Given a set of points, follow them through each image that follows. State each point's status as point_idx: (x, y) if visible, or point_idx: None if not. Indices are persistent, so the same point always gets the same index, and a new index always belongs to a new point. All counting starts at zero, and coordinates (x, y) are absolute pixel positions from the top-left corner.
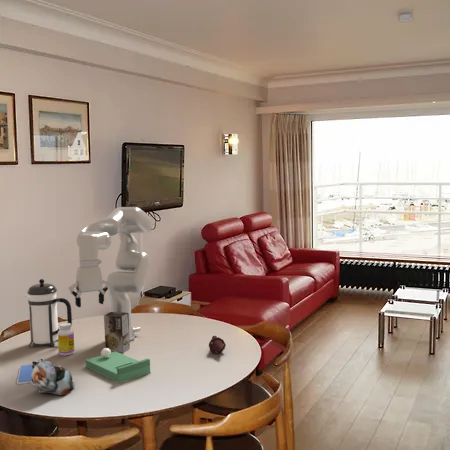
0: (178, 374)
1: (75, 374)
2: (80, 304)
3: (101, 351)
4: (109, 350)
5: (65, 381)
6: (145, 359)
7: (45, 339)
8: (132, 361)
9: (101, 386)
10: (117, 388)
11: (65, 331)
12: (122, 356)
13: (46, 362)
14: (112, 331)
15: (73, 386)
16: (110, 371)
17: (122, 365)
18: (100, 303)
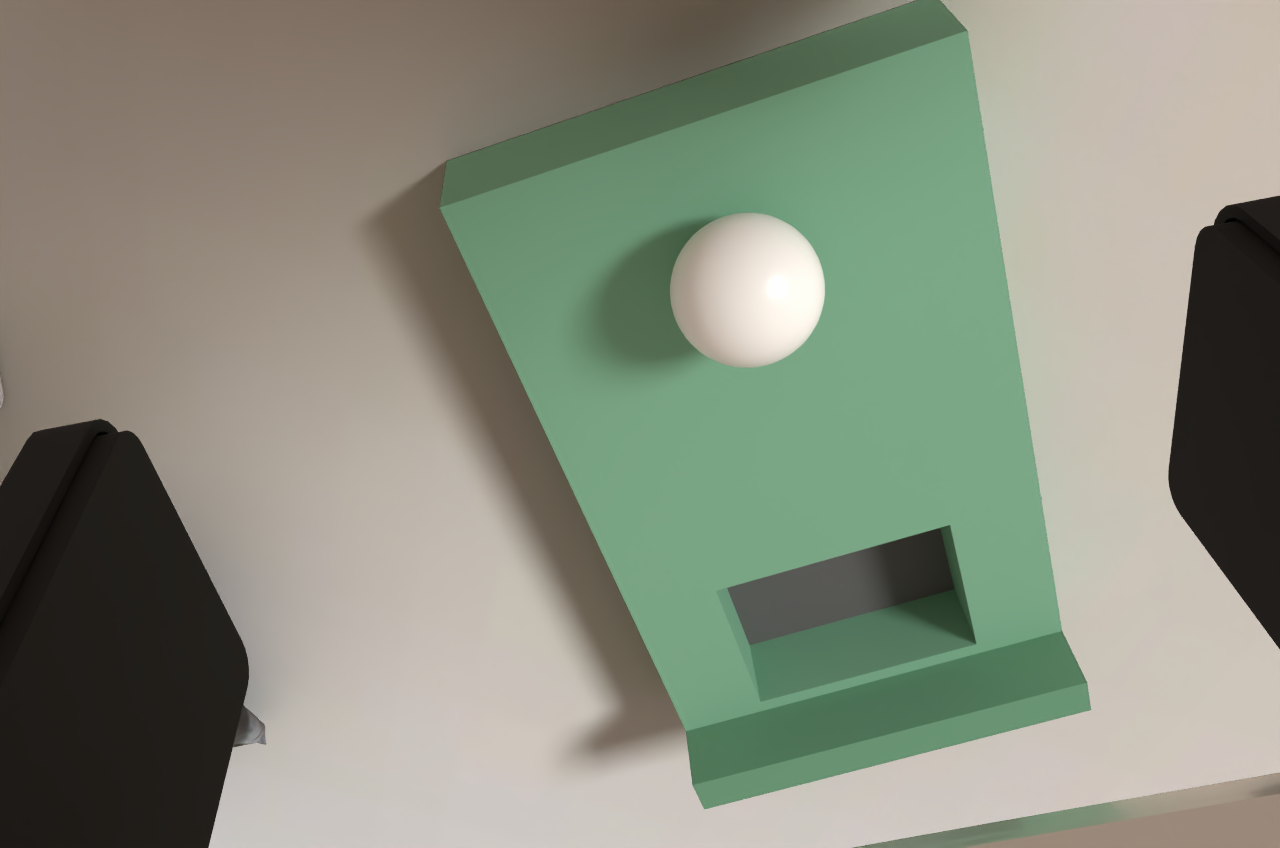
0: (1217, 704)
1: (291, 348)
2: (212, 764)
3: (682, 308)
4: (798, 346)
5: None
6: (1052, 698)
7: None
8: (973, 502)
9: (518, 701)
10: (636, 769)
11: None
12: (953, 299)
13: None
14: None
15: (252, 742)
16: (648, 649)
17: (823, 557)
18: (1177, 397)
